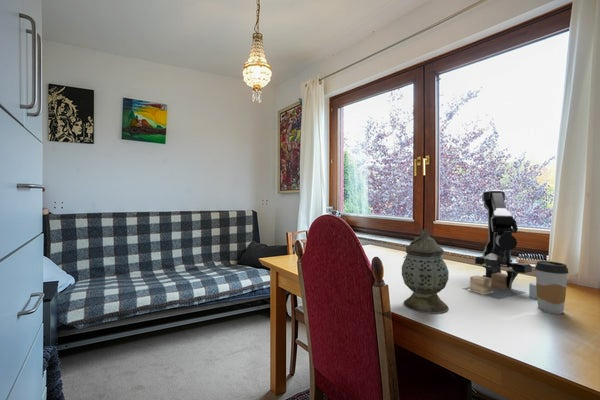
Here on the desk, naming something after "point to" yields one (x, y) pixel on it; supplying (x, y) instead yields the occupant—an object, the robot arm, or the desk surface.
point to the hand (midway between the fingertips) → (501, 285)
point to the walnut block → (499, 281)
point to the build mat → (498, 292)
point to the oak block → (480, 284)
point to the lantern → (425, 275)
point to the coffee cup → (551, 286)
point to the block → (532, 290)
